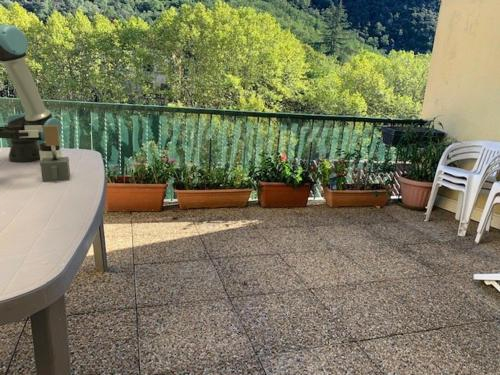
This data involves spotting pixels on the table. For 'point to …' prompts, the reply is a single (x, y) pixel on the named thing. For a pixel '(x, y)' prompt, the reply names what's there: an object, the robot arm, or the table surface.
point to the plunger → (52, 138)
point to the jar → (48, 151)
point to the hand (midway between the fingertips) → (40, 131)
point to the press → (55, 169)
